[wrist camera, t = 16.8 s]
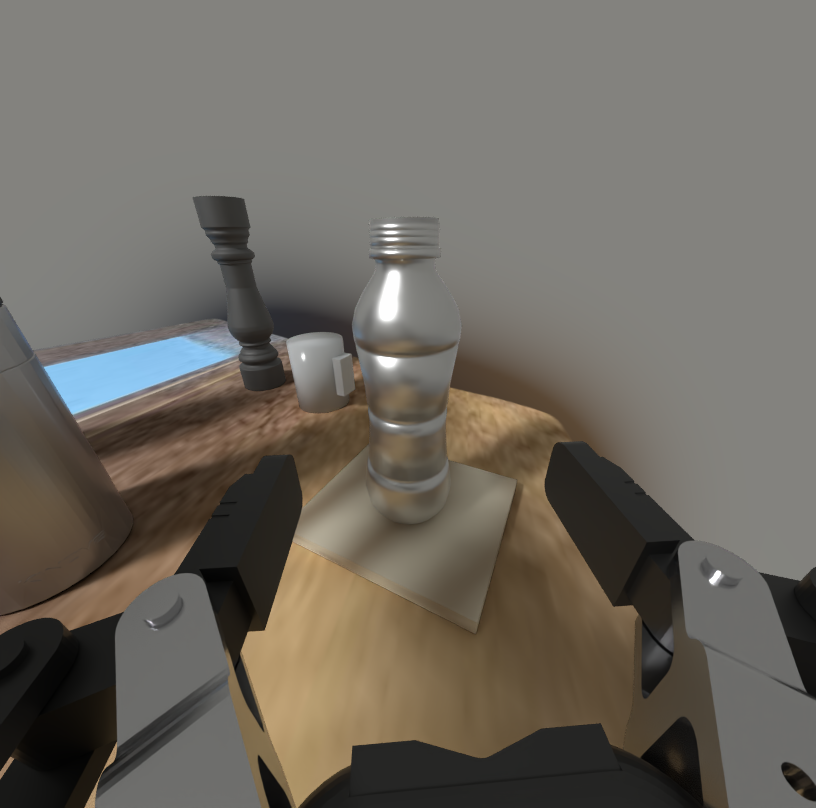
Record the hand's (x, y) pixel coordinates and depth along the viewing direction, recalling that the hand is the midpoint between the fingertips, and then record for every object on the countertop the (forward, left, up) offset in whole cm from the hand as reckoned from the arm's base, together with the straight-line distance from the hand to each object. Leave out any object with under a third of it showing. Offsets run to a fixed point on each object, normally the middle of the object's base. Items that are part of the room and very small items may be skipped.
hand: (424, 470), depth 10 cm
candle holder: (-39, +24, -14) cm, 47 cm away
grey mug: (-26, +23, -14) cm, 37 cm away
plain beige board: (-6, +10, -14) cm, 18 cm away
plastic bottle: (-6, +10, -13) cm, 17 cm away
